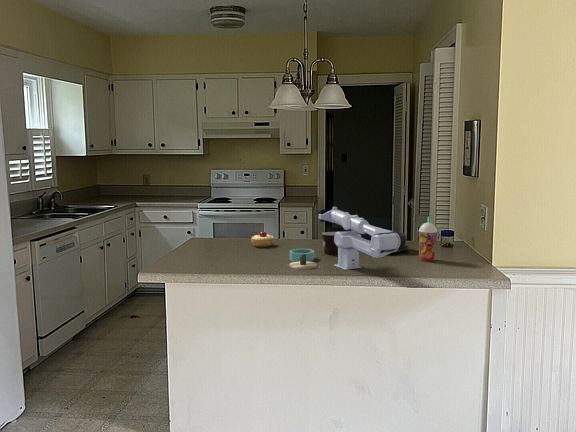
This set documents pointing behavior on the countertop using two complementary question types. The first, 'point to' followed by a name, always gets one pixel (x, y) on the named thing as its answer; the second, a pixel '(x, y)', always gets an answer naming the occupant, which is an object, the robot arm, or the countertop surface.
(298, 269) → the mat
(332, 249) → the coffee mug
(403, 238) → the casserole
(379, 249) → the robot arm
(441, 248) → the countertop surface
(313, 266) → the lid
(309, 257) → the bowl
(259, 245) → the pastry
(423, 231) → the smoothie
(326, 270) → the countertop surface
